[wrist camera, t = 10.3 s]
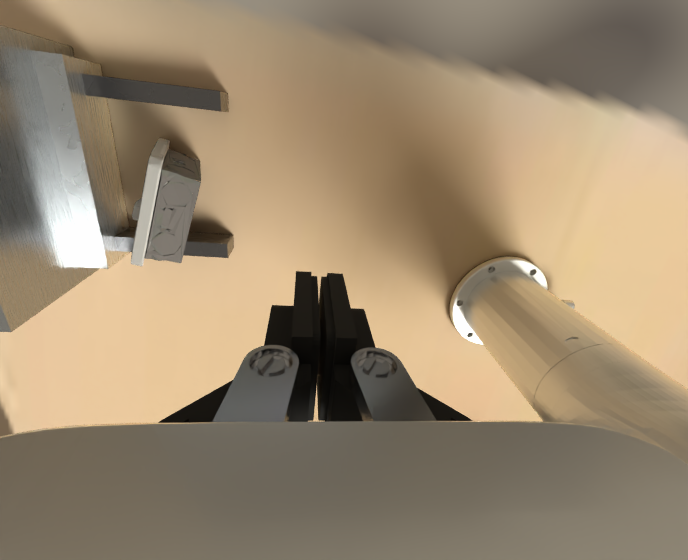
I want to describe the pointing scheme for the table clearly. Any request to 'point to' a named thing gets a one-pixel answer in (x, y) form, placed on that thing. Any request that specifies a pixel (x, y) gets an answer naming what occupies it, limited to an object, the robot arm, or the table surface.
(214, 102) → the rail mount
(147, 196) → the electrical switch
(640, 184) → the table surface
